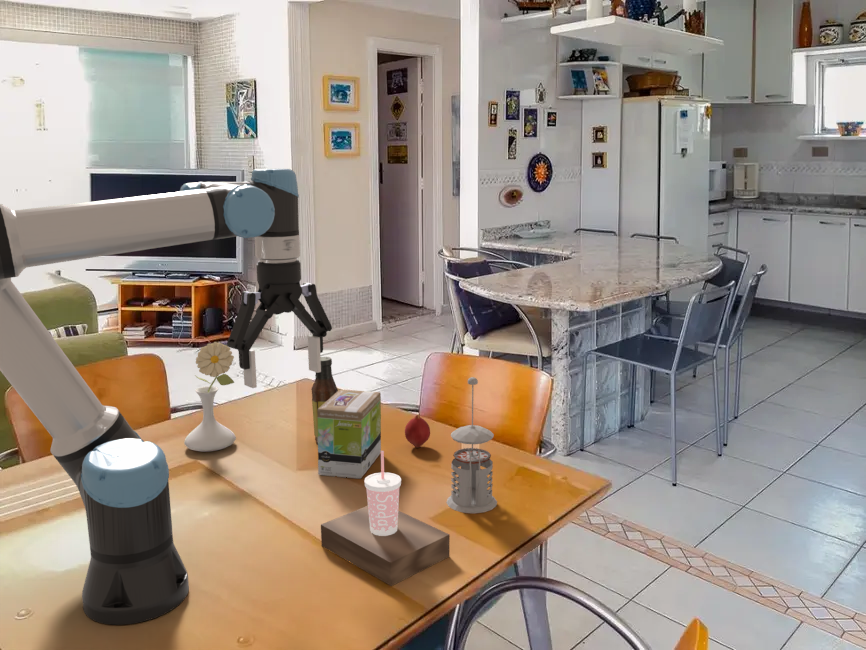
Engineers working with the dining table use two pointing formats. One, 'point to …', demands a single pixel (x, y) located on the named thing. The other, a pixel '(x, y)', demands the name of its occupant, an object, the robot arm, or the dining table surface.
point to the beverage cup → (383, 501)
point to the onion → (417, 431)
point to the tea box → (349, 433)
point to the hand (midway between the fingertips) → (283, 378)
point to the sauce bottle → (322, 389)
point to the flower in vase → (211, 400)
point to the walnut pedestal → (385, 545)
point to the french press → (472, 470)
